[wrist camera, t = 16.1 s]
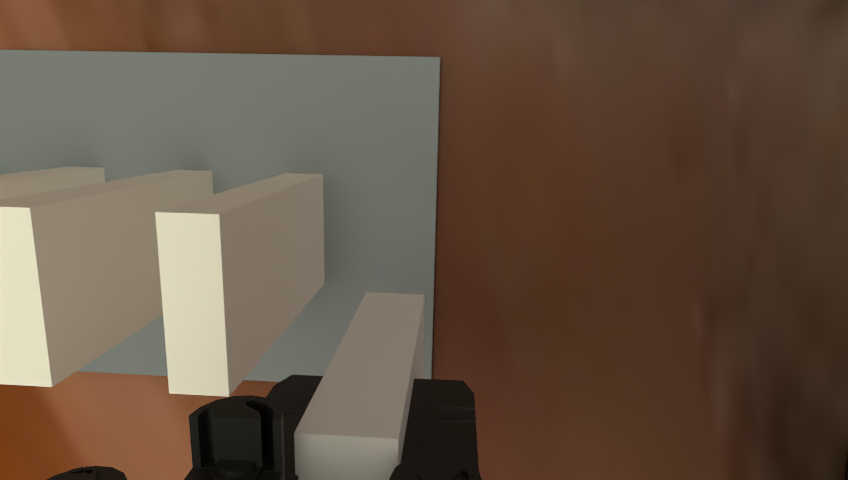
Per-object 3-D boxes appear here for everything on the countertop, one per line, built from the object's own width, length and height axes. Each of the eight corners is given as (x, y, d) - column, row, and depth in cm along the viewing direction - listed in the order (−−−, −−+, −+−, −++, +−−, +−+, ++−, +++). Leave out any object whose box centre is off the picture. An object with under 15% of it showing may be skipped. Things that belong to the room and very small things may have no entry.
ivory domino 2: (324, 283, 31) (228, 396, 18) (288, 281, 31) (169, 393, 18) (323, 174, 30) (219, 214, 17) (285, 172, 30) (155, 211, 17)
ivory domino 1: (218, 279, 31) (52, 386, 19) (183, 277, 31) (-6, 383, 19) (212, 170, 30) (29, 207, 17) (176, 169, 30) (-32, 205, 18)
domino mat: (431, 384, 32) (430, 389, 32) (-184, 352, 35) (-195, 356, 34) (440, 58, 29) (440, 57, 28) (-250, 46, 31) (-264, 45, 30)
